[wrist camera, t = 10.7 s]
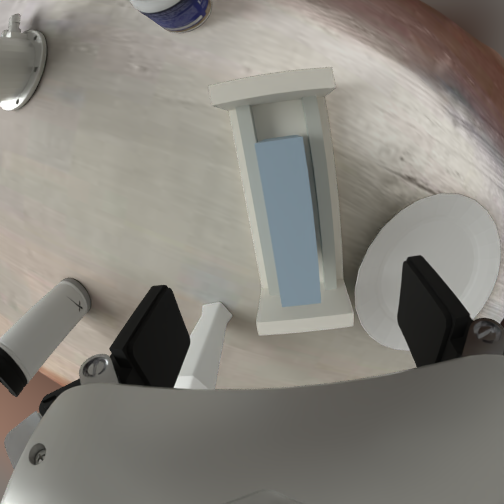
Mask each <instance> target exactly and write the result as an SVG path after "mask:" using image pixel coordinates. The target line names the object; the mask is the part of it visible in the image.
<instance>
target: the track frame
mask: <svg viewBox="0 0 504 504" xmlns="http://www.w3.org/2000/svg"><path fill="white" fill-rule="evenodd" d="M335 88H336V85H335V79H334V75H333V70H332V67H325V68H312V69H302V70H293V71H284V72H277V73H270V74H264V75H258V76H252V77H247V78H241V79H236V80H232V81H227V82H222V83H218V84H214V85H210V86H208V90H209V95H210V100H211V105H212V106H214V107H217V108H221V109H224V110H227V111H228V112H229V117H230V122H231V128H232V133H233V138H234V143H235V149H236V154H237V159H238V164H239V170H240V175H241V180H242V185H243V191H244V196H245V201H246V206H247V212H248V217H249V222H250V228H251V233H252V238H253V244H254V249H255V254H256V260H257V265H258V270H259V276H260V281H261V286H262V290H261V296H260V302H259V308H258V314H257V319H256V325H257V330H258V334H259V336H260V335H274V334H287V333H298V332H309V331H318V330H327V329H336V328H344V327H351V326H353V323H354V312H353V308H352V305H351V302H350V299H349V295H348V292H347V289H346V286H345V283H344V280H343V256H342V237H341V222H340V209H339V198H338V188H337V178H336V169H335V161H334V153H333V146H332V138H331V132H330V125H329V119H328V113H327V107H326V101H325V96H326V95H328V94H329V93H330V92H331V91H332V90H334V89H335ZM291 135H299V136H302V137H303V143H304V149H305V156H306V162H307V169H308V176H309V184H310V191H311V199H312V207H313V216H314V225H315V234H316V244H317V255H318V266H319V278H320V292H321V303H317V304H308V305H299V306H289V307H282V304H281V298H280V291H279V285H278V279H277V272H276V266H275V260H274V254H273V248H272V242H271V236H270V230H269V224H268V218H267V212H266V206H265V200H264V195H263V189H262V183H261V178H260V172H259V167H258V161H257V156H256V150H255V145H254V144H255V143H257V142H259V141H262V140H264V139H270V138H276V137H283V136H291Z"/></svg>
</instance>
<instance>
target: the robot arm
mask: <svg viewBox="0 0 504 504" xmlns="http://www.w3.org/2000/svg"><path fill="white" fill-rule="evenodd" d="M20 17H21V15H20V14H15V15H12V16H11V17H10V19H9V30H4V31H3V32H2V33H1V37H0V106H1V107H2V108H3V109H4V110H7V111H12V110H16V109H19V108H20V107H22V106H23V105H24V104H25V103H26V102H27V101H28V100H29V99H30V97H31V96H32V94H33V93H34V91H35V89H36V87H37V85H38V83H39V81H40V78H41V76H42V73H43V69H44V66H45V61H46V52H47V46H46V40H45V37H44V36H43V34H42V33H41V32H39V31H36V30H28V31H25V32H23V33H21V29H20V28H19V25H20ZM397 322H398V325H399V327H400V329H401V332H402V334H403V336H404V338H405V340H406V343H407V345H408V347H409V349H410V352H411V354H412V356H413V359H414V361H415V363H416V366H417V368H413V369H408V370H404V371H399V372H394V373H389V374H384V375H378V376H373V377H367V378H361V379H354V380H348V381H340V382H333V383H324V384H315V385H305V386H294V387H280V388H261V389H186V388H174V386H175V383H176V381H177V378H178V375H179V373H180V370H181V367H182V365H183V362H184V359H185V357H186V354H187V352H188V349H189V346H190V336H189V334H188V331H187V329H186V326H185V324H184V321H183V318H182V316H181V313H180V310H179V308H178V305H177V302H176V300H175V297H174V294H173V291H172V289H171V288H168V287H167V286H166V285H159V286H152V287H151V289H150V290H149V292H148V293H147V294H146V296H145V297H144V299H143V300H142V301H141V303H140V304H139V306H138V307H137V308H136V310H135V311H134V313H133V314H132V316H131V317H130V319H129V320H128V322H127V323H126V324H125V326H124V327H123V329H122V330H121V332H120V333H119V335H118V336H117V338H116V339H115V341H114V342H113V344H112V345H111V347H110V348H109V349H110V351H111V353H112V354H111V355H110V357H109V356H108V355H106V354H97V355H94V356H92V357H90V358H88V359H87V360H86V361H85V362H84V363H83V364H82V365H81V367H80V370H79V376H80V379H78V380H76V381H74V382H72V383H70V384H68V385H66V386H64V387H62V388H60V389H58V390H56V391H54V392H52V393H50V394H47V395H46V396H45V397H44V398H43V400H42V401H41V404H40V406H39V413H37V411H35V412H34V413H32V414H31V415H30V416H29V417H27V418H26V419H25V420H24V421H23V422H21V423H20V424H19V425H18V426H16V427H15V428H14V429H13V430H11V431H10V432H9V433H8V434H7V436H6V438H5V442H4V443H5V448H6V451H7V453H8V456H9V458H10V461H11V463H12V466H13V468H14V472H13V474H12V476H11V478H10V481H9V483H8V486H7V488H6V491H5V493H4V496H3V498H2V501H1V504H504V329H503V327H502V326H501V325H500V324H499V323H498V322H496V321H495V320H492V319H489V318H479V319H476V320H475V321H473V320H472V318H471V317H470V313H469V312H468V311H467V309H466V308H465V307H464V306H463V304H462V303H461V302H460V300H459V299H458V298H457V297H456V295H455V294H454V293H453V292H452V290H451V289H450V288H449V287H448V285H447V284H446V283H445V282H444V281H443V279H442V278H441V277H440V276H439V275H438V273H437V272H436V271H435V270H434V269H433V268H432V267H431V265H430V264H429V263H428V262H427V261H426V260H425V259H424V257H423V256H421V255H417V256H410V257H408V258H407V260H406V261H404V262H403V266H402V278H401V289H400V298H399V306H398V314H397Z"/></svg>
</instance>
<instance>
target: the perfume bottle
mask: <svg viewBox="0 0 504 504" xmlns="http://www.w3.org/2000/svg"><path fill="white" fill-rule="evenodd" d="M231 318H232V314H231V313H230V312H229V311H228V310H227V308H226V307H225V306H224V305H223V304H222V303H221V302H216V303H211V304H205V305H203V306H202V316H201V317H200V319H199V321H198V323H197V324H196V326H195V328H194V330H193V331H192V333H191V335H190V346H189V349H188V352H187V354H186V357H185V359H184V362H183V365H182V367H181V370H180V373H179V375H178V378H177V381H176V383H175V386H174V388H186V389H215V386H216V381H217V375H218V369H219V364H220V358H221V353H222V347H223V342H224V336H225V331H226V326H227V323H228V322H229V320H230V319H231Z"/></svg>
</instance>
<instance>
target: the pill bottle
mask: <svg viewBox="0 0 504 504" xmlns="http://www.w3.org/2000/svg"><path fill="white" fill-rule="evenodd" d="M130 2H131V4H132V5H133V7H134V8H136V9H137V10H138V11H140V12H141V13H143V14H144V15H146V16H147V17H149V18H150V19H151V20H153V21H154V22H156V23H157V24H158V25H160V26H161V27H163V28H164V29H166V30H168V31H170V32H174V33H183V32H187V31H191V30H193V29H195V28H197V27H198V26H200V25H201V24H202V23H203V22H204V21H205V20H206V19H207V18H208V16H209V14H210V12H211V7H212V4H211V0H130Z"/></svg>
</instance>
